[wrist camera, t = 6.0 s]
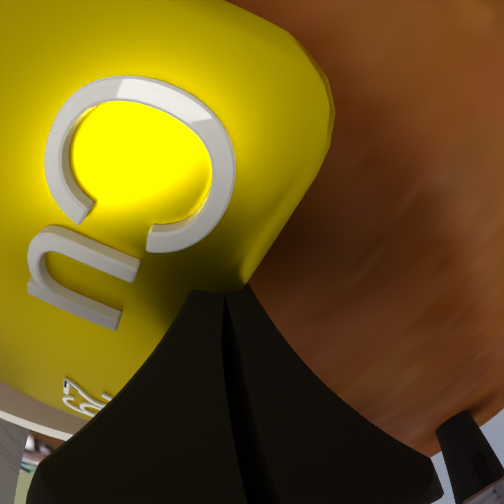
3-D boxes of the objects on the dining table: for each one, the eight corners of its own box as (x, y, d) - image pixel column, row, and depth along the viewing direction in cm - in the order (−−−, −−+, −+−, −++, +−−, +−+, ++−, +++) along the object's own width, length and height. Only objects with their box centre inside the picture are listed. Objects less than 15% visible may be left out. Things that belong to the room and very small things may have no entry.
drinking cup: (413, 441, 27) (457, 570, 10) (460, 405, 24) (518, 544, 7) (444, 435, 29) (486, 545, 12) (485, 401, 26) (537, 517, 9)
